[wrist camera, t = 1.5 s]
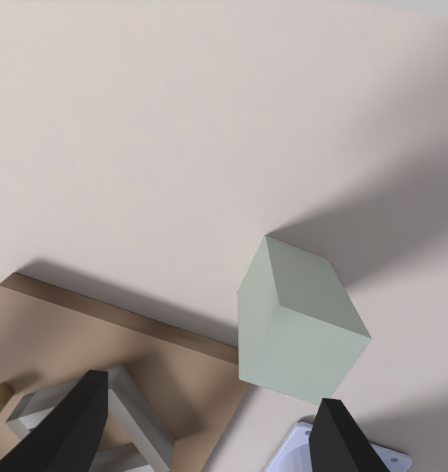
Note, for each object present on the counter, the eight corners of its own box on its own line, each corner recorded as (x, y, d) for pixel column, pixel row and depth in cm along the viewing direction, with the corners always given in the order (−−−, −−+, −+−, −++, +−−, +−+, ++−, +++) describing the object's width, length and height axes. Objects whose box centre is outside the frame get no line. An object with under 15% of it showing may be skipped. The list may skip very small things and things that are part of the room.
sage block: (328, 259, 20) (372, 338, 14) (297, 312, 22) (323, 407, 15) (265, 234, 20) (279, 305, 13) (237, 291, 21) (238, 379, 15)
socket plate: (256, 354, 23) (259, 398, 20) (178, 495, 29) (170, 546, 26) (13, 272, 21) (-27, 305, 18) (-17, 440, 27) (-52, 488, 24)
